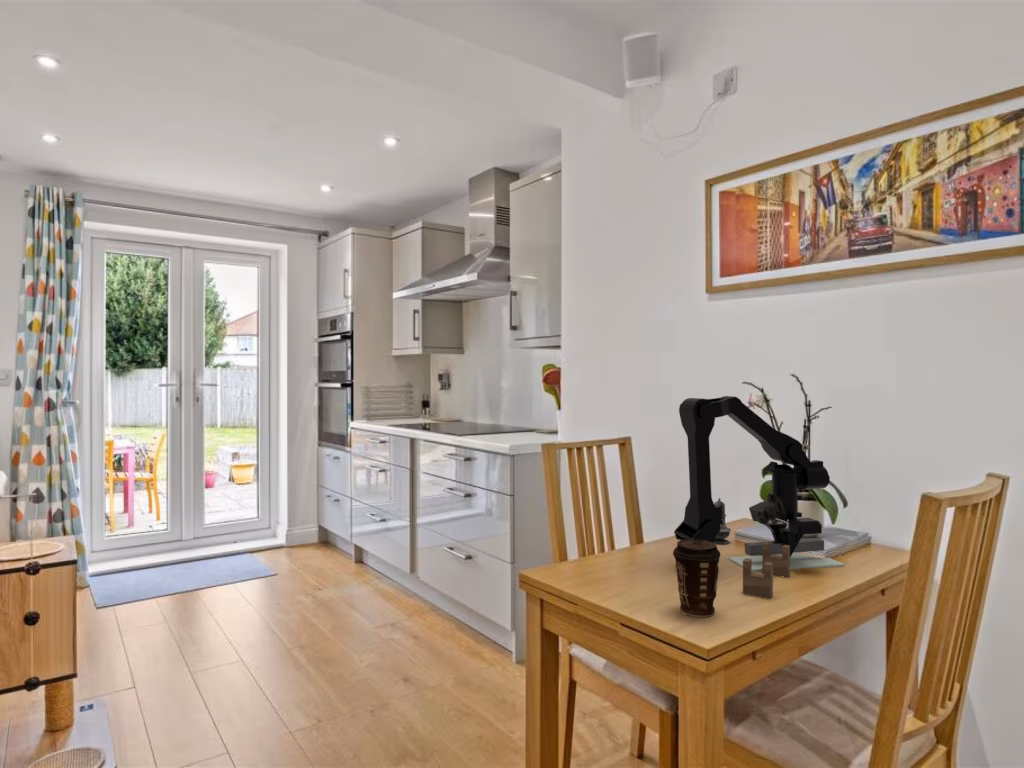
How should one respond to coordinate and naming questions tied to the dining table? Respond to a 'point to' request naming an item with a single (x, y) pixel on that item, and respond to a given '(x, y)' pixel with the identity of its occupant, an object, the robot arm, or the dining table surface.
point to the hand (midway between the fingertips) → (784, 555)
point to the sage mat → (795, 562)
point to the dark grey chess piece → (722, 527)
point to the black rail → (776, 546)
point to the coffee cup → (697, 576)
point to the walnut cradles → (765, 571)
